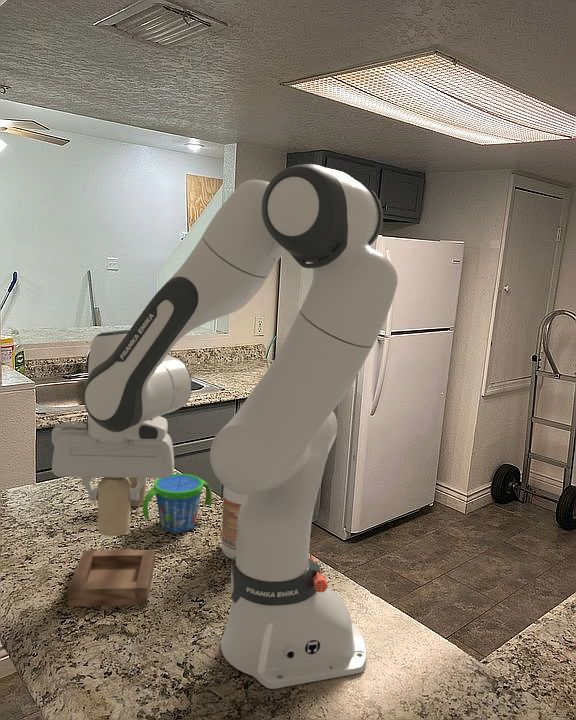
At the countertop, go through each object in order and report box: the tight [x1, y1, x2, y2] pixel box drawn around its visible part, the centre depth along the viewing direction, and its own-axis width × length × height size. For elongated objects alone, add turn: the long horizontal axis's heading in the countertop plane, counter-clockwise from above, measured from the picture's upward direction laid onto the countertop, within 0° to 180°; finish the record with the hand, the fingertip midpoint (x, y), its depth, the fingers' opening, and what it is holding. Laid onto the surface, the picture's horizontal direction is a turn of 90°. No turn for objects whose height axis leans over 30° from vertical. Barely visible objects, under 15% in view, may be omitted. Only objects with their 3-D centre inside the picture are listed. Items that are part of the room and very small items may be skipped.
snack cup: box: [142, 473, 213, 534], centre depth 130 cm, size 16×10×10 cm
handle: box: [128, 478, 147, 508], centre depth 139 cm, size 5×6×15 cm
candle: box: [97, 477, 131, 537], centre depth 104 cm, size 6×6×10 cm
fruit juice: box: [220, 486, 247, 560], centre depth 119 cm, size 9×9×28 cm
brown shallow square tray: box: [67, 549, 155, 608], centre depth 107 cm, size 13×13×3 cm
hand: (114, 499), depth 104 cm, fingers closed on candle, 5 cm apart
